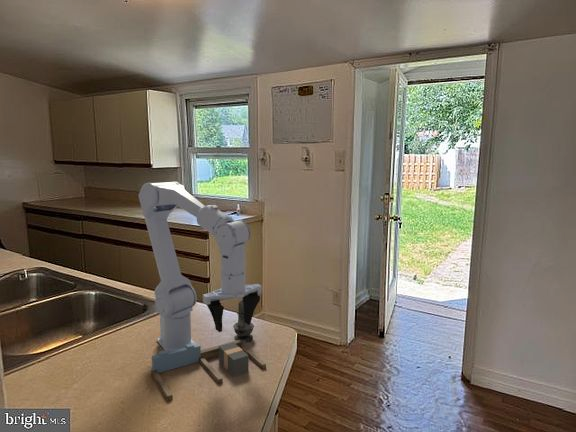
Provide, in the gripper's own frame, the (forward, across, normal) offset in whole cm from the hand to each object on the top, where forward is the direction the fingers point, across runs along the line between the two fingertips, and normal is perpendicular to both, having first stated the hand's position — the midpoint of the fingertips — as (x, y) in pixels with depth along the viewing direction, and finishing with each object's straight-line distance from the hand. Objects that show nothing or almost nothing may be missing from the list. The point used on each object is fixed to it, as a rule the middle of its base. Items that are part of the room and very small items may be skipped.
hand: (233, 326), depth 94 cm
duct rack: (+10, -6, +2) cm, 12 cm away
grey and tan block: (+10, 0, 0) cm, 10 cm away
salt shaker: (+10, +9, +12) cm, 18 cm away
